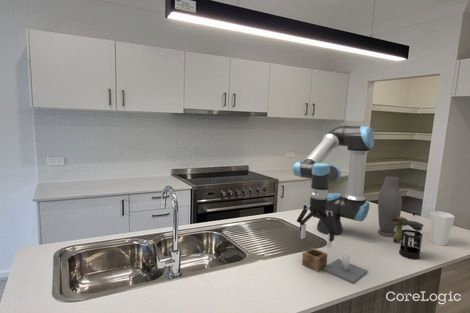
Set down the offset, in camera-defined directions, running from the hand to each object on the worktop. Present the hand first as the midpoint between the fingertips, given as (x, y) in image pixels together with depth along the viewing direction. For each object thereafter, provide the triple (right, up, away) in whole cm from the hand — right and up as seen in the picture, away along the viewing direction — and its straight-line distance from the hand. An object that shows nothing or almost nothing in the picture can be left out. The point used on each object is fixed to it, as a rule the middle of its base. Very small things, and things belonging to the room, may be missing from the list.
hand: (315, 242), depth 133 cm
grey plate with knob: (+12, -12, -3) cm, 18 cm away
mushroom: (+55, -9, +31) cm, 63 cm away
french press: (+53, -11, +15) cm, 56 cm away
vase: (+55, -8, +43) cm, 71 cm away
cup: (+79, -10, +31) cm, 85 cm away
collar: (0, -11, +2) cm, 11 cm away
